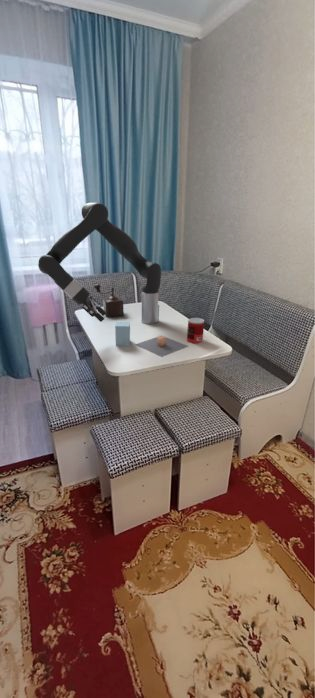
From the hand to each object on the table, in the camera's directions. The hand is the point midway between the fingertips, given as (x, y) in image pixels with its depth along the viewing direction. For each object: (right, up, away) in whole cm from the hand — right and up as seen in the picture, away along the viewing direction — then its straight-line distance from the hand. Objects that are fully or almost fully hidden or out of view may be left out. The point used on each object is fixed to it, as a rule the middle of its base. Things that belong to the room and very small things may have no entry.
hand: (103, 317), depth 146 cm
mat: (+27, -13, +4) cm, 30 cm away
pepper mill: (-5, +6, +46) cm, 47 cm away
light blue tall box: (+8, -12, +6) cm, 16 cm away
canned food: (+43, -11, +11) cm, 46 cm away
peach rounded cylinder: (+27, -13, +4) cm, 30 cm away
